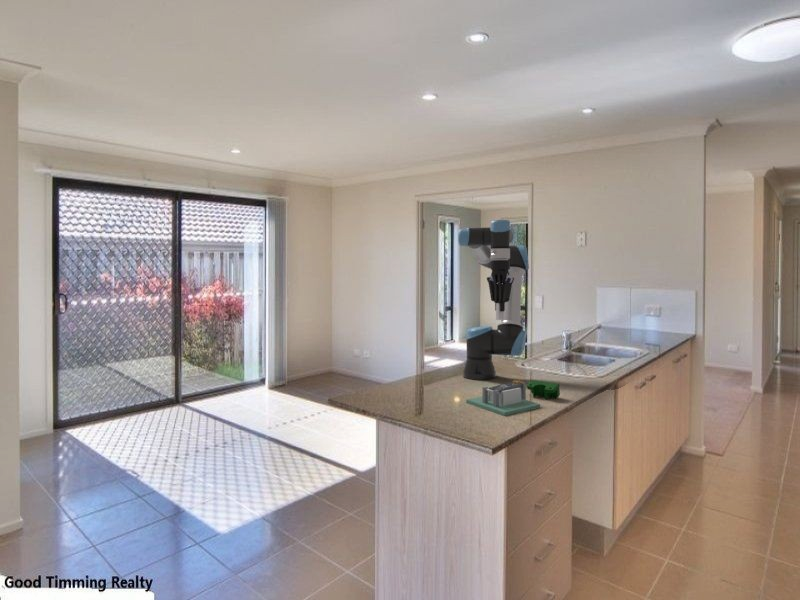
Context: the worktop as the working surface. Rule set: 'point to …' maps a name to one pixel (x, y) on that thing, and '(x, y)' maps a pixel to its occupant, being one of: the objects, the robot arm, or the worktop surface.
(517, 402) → the board
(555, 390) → the clamp
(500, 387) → the grey flat bar
